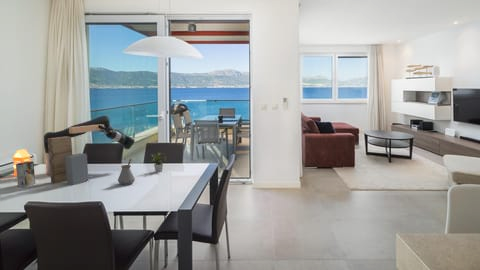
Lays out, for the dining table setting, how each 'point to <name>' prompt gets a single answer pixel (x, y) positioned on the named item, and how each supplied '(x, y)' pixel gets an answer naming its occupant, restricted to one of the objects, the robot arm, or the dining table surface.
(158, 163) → the house plant
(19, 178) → the coffee box
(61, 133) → the robot arm
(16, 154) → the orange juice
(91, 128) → the block
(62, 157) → the stand
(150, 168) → the dining table surface
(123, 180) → the coffee pot
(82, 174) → the pedestal
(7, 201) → the dining table surface
